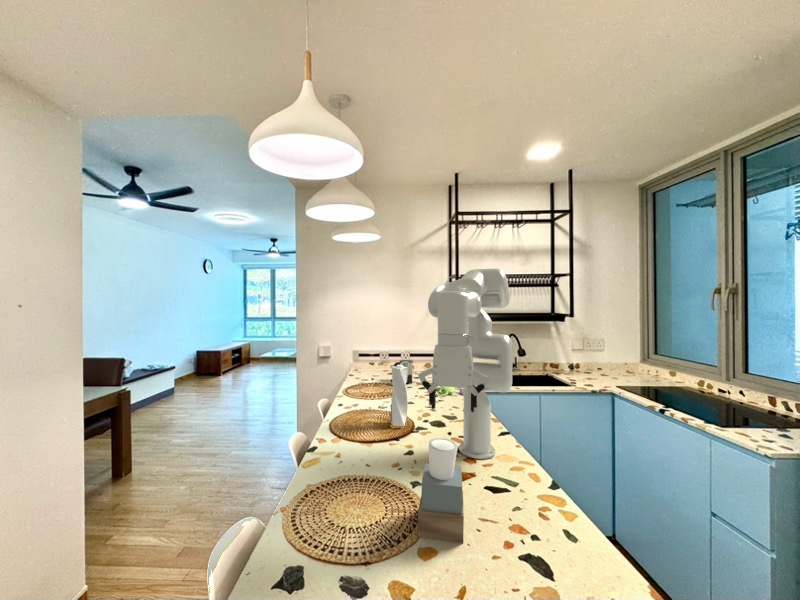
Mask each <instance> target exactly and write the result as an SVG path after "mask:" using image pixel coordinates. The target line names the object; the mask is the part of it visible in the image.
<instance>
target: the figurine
mask: <svg viewBox="0 0 800 600" xmlns="http://www.w3.org/2000/svg"><path fill="white" fill-rule="evenodd" d="M440 387H441V388H440V389H439V390H438V391H436V390H435V391H436V396H437V395H438V397H441V396H443V397H445V396H447V395H449V394H454V392H455V391H456V390H458V393H459V394H461V395H464V394H463V388H462V387H444V386H440ZM438 392H439V393H438Z"/></svg>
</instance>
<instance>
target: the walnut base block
mask: <svg viewBox="0 0 800 600" xmlns="http://www.w3.org/2000/svg"><path fill="white" fill-rule="evenodd" d="M421 503H422V493H421V495H420V499H419V505H418V509H417V515H418V516H417V538H419V539H420V538H422V539H429V540H435V541H443V542H450V543H458V544H464V530H465V527H464V518H465V517H464V490H462V514H454V513H446V512H437V511H429V510H421Z"/></svg>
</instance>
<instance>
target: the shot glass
mask: <svg viewBox="0 0 800 600" xmlns="http://www.w3.org/2000/svg"><path fill="white" fill-rule="evenodd" d="M458 448H459V445H458V444H457V443H456V441H453V440H452V439H451V440H450V439H448V438H444V437H436V438H432V439H431V440H429V441H428V462H429V463H428V464H429V472H430V474H431V476H433V477H434V478H436V479H439V480H448V479H451V478H452V477H453V473H454V467H455V466H456V460H457V453H458Z"/></svg>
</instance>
